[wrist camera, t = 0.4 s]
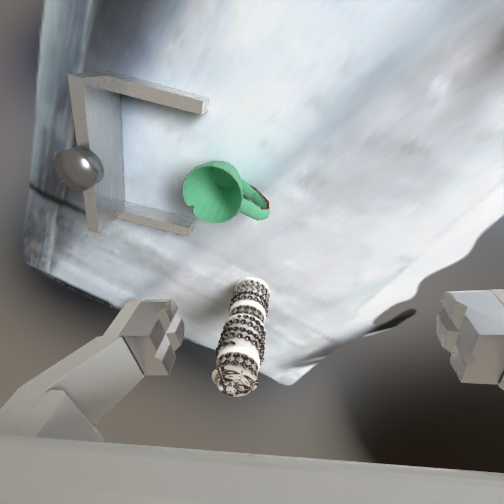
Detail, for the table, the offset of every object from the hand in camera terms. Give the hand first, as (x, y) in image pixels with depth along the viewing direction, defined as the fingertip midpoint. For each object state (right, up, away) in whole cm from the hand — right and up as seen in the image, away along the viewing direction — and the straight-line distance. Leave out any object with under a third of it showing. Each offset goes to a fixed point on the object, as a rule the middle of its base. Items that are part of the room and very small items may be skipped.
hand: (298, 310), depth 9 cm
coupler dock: (-20, +19, +45) cm, 53 cm away
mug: (-4, +15, +45) cm, 48 cm away
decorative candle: (-1, -7, +60) cm, 61 cm away
